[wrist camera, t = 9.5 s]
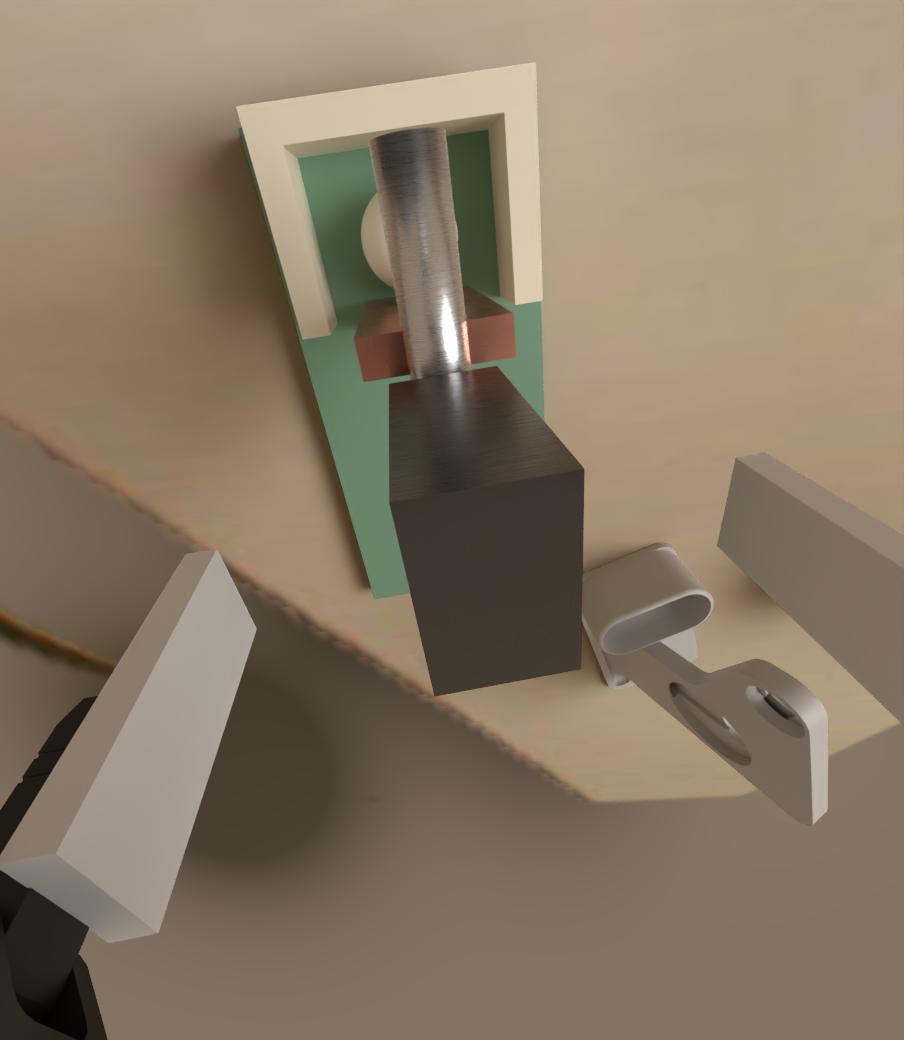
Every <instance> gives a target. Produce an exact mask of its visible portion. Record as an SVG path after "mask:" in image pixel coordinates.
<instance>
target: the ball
mask: <svg viewBox="0 0 904 1040" xmlns="http://www.w3.org/2000/svg"><path fill="white" fill-rule="evenodd" d="M455 223H456V221H455ZM456 232H457V241H458V230H457V225H456ZM361 241H362V247H363V251H364V255H365V257H366V260H367V262H368V264H369V266H370V267H371V269H372V270H373V272H374V273H375V274H376V275H377V277H378V278H379V279H381V280H382V281H383V282H384V283H385V284H387V285H388V286H390V287H392V288H394V284H393V278H392V273H391V267H390V262H389V256H388V250H387V245H386V239H385V234H384V228H383V222H382V217H381V211H380V206H379V200H378V194H377V193H376V194H375V195H374V196H373V198H372V199H371V200H370V202H369V204H368V206H367V208H366V210H365V213H364V216H363V220H362V226H361Z"/></svg>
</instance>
